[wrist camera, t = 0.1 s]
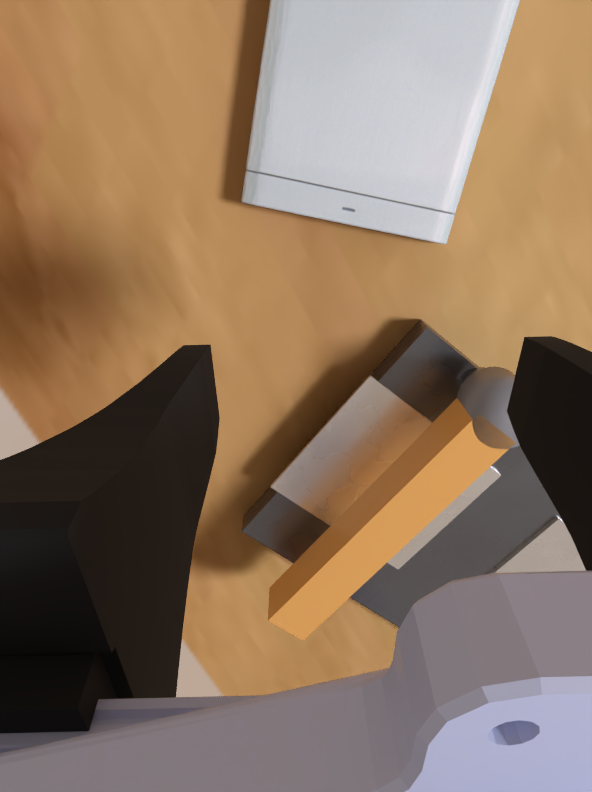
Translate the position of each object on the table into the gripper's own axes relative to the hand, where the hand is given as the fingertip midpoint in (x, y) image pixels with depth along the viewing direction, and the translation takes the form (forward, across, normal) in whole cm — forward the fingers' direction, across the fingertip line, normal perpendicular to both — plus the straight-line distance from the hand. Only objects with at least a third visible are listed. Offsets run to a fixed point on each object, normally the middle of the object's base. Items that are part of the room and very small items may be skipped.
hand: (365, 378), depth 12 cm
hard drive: (+12, -2, -7) cm, 14 cm away
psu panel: (+8, -9, +16) cm, 20 cm away
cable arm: (+6, -2, +10) cm, 12 cm away
